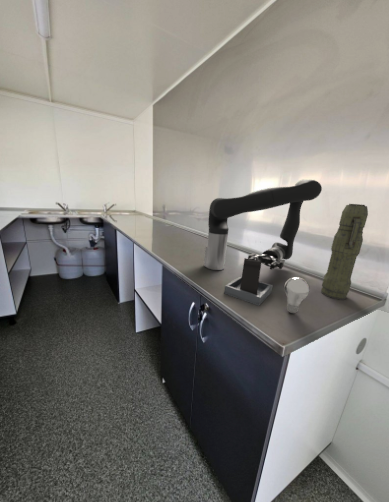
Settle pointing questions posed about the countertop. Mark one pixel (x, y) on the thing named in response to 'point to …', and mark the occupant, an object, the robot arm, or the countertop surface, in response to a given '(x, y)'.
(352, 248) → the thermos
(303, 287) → the light bulb
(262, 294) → the tray
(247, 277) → the door stopper
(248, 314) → the countertop surface
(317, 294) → the countertop surface
